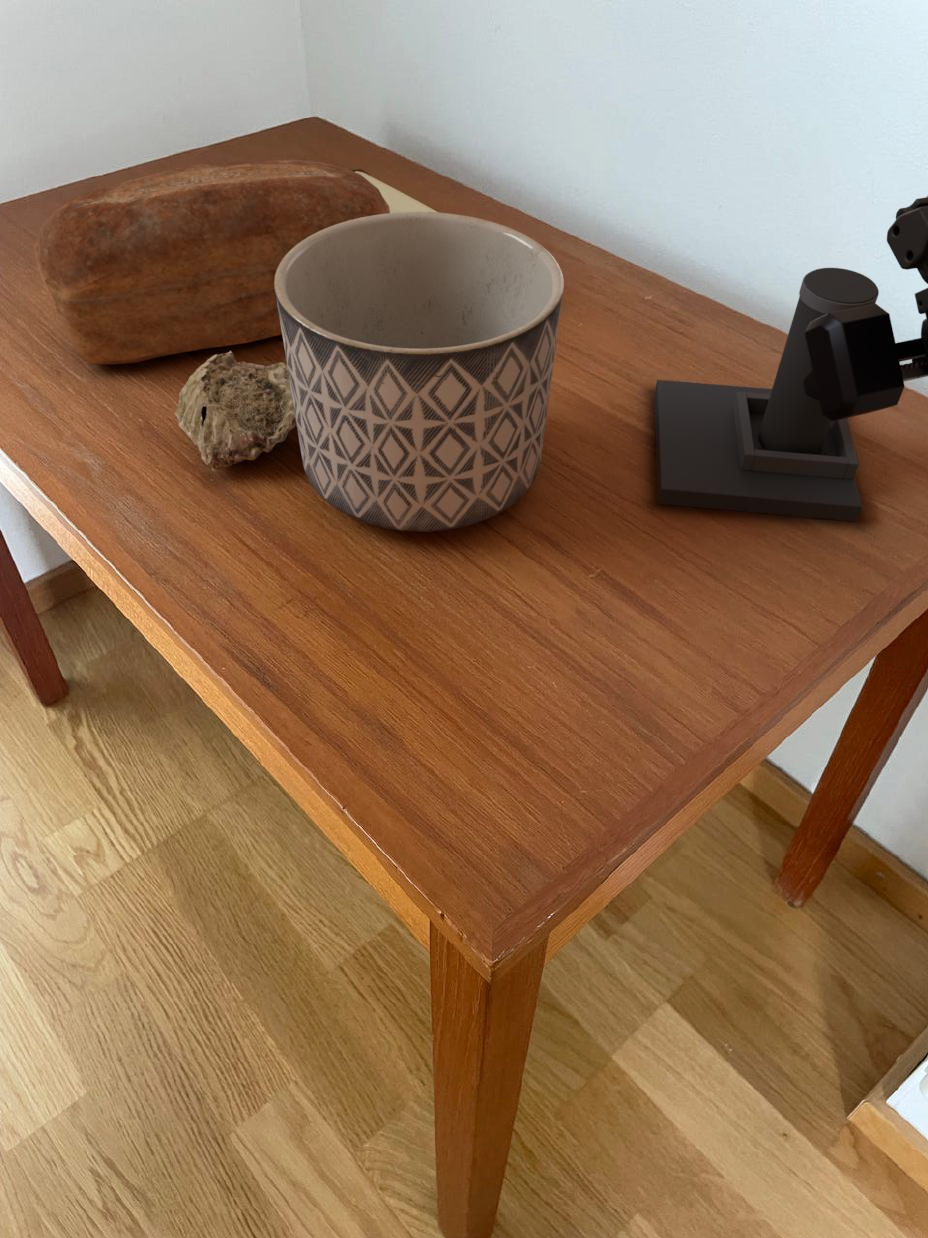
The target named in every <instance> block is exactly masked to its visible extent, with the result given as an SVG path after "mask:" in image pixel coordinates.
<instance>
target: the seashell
mask: <svg viewBox="0 0 928 1238" xmlns="http://www.w3.org/2000/svg"><path fill="white" fill-rule="evenodd" d="M173 414H174V415H175V416H176V418H177V421H178V427H179V428H180V429H181V430H183V432H184V433H185V434H186V436H187V437H188V438H189V439H190V441H192V442H193V444H194V447H196V448H197V449H198V450H199V452H200V458H201V460H202V462H204V464H205V465H206V466H207V467H208V468H210V469H211V471H212V472H214V473H217V472H218V471H220V470H221V469H223V468H224V467H225V468H227V467H231V466H233V465H236V464H238V463H241V462H244V461H245V460H249V461H254V460H256V459H257V458H259V456H260V455H261V454H262V453H263V452H264V453H266V454H269V453H270V452H271V451H272V450H273V448H274V447H275V446H276V445H277V444H278V443H283V442H284V441H285V440H286V438H287V437H288V433H290V431H291V430H293V429H294V428H297V424H296V417H295V411H294V405H293V399H292V392H291V386H290V380H289V374H288V368H287V364H286V363H285V362H277V363H274V364H270V365H267V366H265V365H264V364H263V365H262V364H255V363H253V362H245V361H244V360H243V361H241V362H238V361H237V360H236V358H235V355H234V353H233V352H232V350H229V352H224V353H219V354H214V355H212V356H210V358H208V359H206V361H205V362H204V363H202V364H201V365H200V366H198V368H196V369H195V371H194V372H193V373H192V374H191V375H190V376H189V378H188V379H187V381H186V383H185V384H184V386H183V387H182V388H181V389H180V392H179V394H178V405H177V407H176V409H175V411H174V413H173Z"/></svg>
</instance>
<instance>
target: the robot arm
mask: <svg viewBox="0 0 928 1238" xmlns="http://www.w3.org/2000/svg"><path fill="white" fill-rule="evenodd" d="M886 233H887V234H886V242H887V244H888V247H889V249H890V250H891V252H892V254H893V256H894V258H895V260H896V261H897V263H898V265H899V266H900V268H901V269H902V270H907V271H909V270H915V269H917V271H918V273H919V275H920V277H921V278H922V280H923V281H924V283H925V284H927V285H928V195H927V196H926V197H920V198H916V199H914V201H913V203H911V204H910V205H909V206H906V207H900V208H899V209H897V211H896V213H895V220H894V222H893V223H892V224H891V226H890V227H889V228H888V230H887V232H886ZM914 297H915V298H914V299H915V304H916V307H917V312H918V314H920V315H924V314H925V319H923V320H922V323H921V328H920V337H919V338H913V339H909V340H904V341H900V342H896V338H895V334H894V330H893V325H892V320H891V316H890V313H889V312H888V311H887V310H885V309H884V308H882V307H881V306H880V305H878V304H877V303H875V304H871V305H866V306H861V307H856V308H850V309H845V310H840V311H835V312H830V313H827V314H825V315H823V316H821V317H819V318H817V319H815V320H813V321H811V322H810V323H809V325H808V327H807V329H806V331H805V337H806V342H807V346H808V351H809V355H810V360H811V365H812V370H811V372H810V373H809V374H808V375H807V376H806V378H805V379H804V380H803V385H804V389H805V394H806V395H807V396H809V397H811V398H813V399H816V400H818V401H820V406H821V411H822V414H823V415H824V416H825V417H827V418H828V419H829V420H831V421H836V420H841V419H845V418H847V419H849V418H853V417H857V416H861V415H867V414H871V413H874V412H877V411H882V410H885V409H889V408H892V407H895V406H898V404H899V402H900V399H901V397H902V395H903V391H904V390H905V382H908V381H912V380H913V381H914V380H917V379H922V378H926V377H928V287H925V288H924V289H922V290H920V291H917V292H915V293H914ZM910 360H911V362H909V363H904V364H901V363H902V362H905V361H910ZM900 362H901V363H900Z"/></svg>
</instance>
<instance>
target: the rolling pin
mask: <svg viewBox="0 0 928 1238" xmlns="http://www.w3.org/2000/svg"><path fill="white" fill-rule="evenodd" d="M347 169H348V170H351V171H353V172H356V173H358V174H361V175H362V176H363V177H364V178H365V179H367V180H368V181H369V182H370V183H372V184H373V185H374V186H375V187H377V188H378V189H379V191H380V193H381V195H382V197H383V198H384V200H385V201H386V202H387V204H388V205H389V209H390V213H398V212H438V211H436V210H435V209H433V208H431V207H429V206H428V205H426V204H424V203H422V202H420V201H418V200H416V199H415V198H413V197H411V196H409V195H407V194H405V193H403V192H402V191H400V190H398V189H396V188H395V187H392V186H390V185H388V184H387V183H385V182H382V181H381V180H379V179H377V178H375V177H373V176H372V175H371V174H370V173H368V172H367V171H366V170H364V169H363V168H360V167H355V168H353V167H352V168H347Z"/></svg>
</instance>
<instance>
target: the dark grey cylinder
mask: <svg viewBox="0 0 928 1238" xmlns="http://www.w3.org/2000/svg"><path fill="white" fill-rule="evenodd" d="M879 293H880V291H879V287H878V286H877V284H876V283H875V282H874V281H873V280H872V279H870V277H868V276H866V275H864V274H862V273H861V272H860V273H859V272H857V271H854V270H851V269H847V268H841V267H821V268H817V269H814V270H811V271H810V272H807V273H806V274H805V275H804V276H803V278H802V281H801V285H800V288H799V293H798V294H799V295H798V300H797V304H796V307H795V310H794V313H793V318H792V320H791V324H790V327H789V331H788V334H787V338H786V341H785V345H784V347H783V351H782V354H781V358H780V361H779V365H778V368H777V371H776V376H775V377H774V381H773V385H772V388H771V389H772V391H771V395H770V398H769V401H768V405H767V408H766V412H765V415H764V418H763V422H762V425H761V428H760V432H759V437H758V438H759V442H760V444H761V445H762V446H763V448H764V449H765V450H767V451H779V452H790V453H802V454H813V455H818V454H819V453H820V451H821V449H822V447H823V444H824V441H825V438H826V435H827V433H828V430H829V427H830V424H831V420H829V419H828V418H827V417H825V416H824V415H823V414H822V411H821V406H820V401H818V400H816V399H813V398H811V397H809V396H807V395H806V394H805V389H804V385H803V380H804V379H805V378H806V376H807V375H808V374H809V373H810V372H811V370H812V365H811V360H810V355H809V351H808V346H807V342H806V337H805V331H806V329H807V327H808V325H809V323H810V322H811V321H813V320H815V319H817V318H819V317H821V316H823V315H825V314H827V313H830V312H835V311H840V310H845V309H850V308H856V307H861V306H866V305H871V304H877V300H878V297H879V295H880V294H879Z"/></svg>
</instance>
